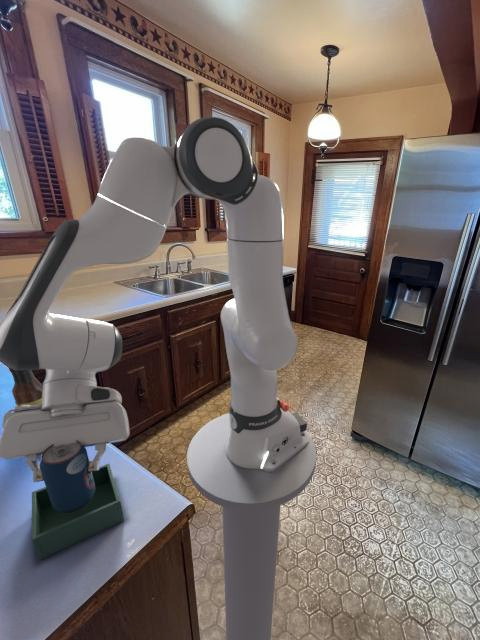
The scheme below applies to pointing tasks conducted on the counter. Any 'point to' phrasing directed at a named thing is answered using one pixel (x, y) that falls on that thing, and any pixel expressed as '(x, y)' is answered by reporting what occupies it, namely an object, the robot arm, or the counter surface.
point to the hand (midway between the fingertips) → (67, 476)
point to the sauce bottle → (26, 388)
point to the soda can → (67, 476)
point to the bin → (75, 516)
